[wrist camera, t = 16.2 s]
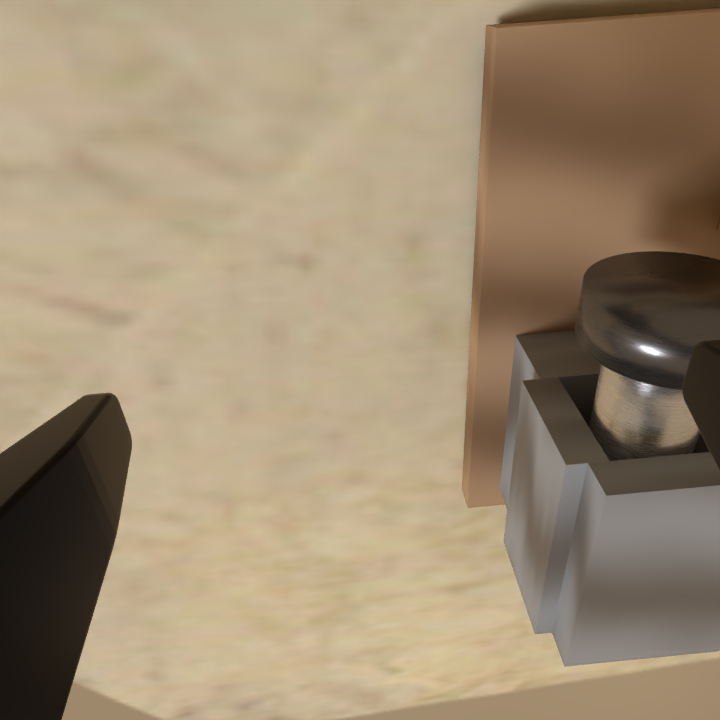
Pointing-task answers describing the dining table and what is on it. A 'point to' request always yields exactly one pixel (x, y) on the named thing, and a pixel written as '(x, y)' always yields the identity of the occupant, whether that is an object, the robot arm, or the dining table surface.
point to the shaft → (646, 347)
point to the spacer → (718, 225)
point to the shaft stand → (559, 313)
